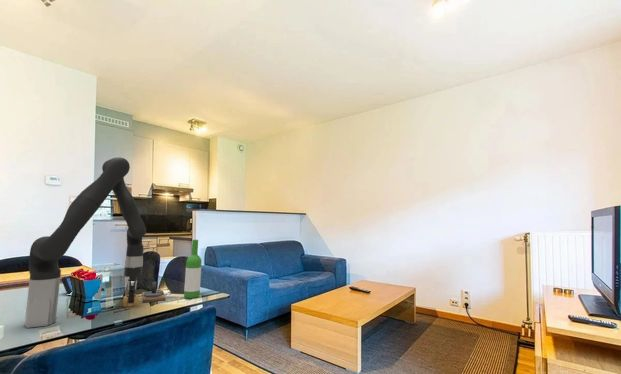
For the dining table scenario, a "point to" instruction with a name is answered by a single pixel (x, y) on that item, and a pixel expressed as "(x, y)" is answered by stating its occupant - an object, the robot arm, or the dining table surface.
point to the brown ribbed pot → (126, 304)
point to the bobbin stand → (153, 295)
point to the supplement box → (98, 295)
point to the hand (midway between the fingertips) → (130, 301)
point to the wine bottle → (193, 273)
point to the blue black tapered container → (68, 286)
